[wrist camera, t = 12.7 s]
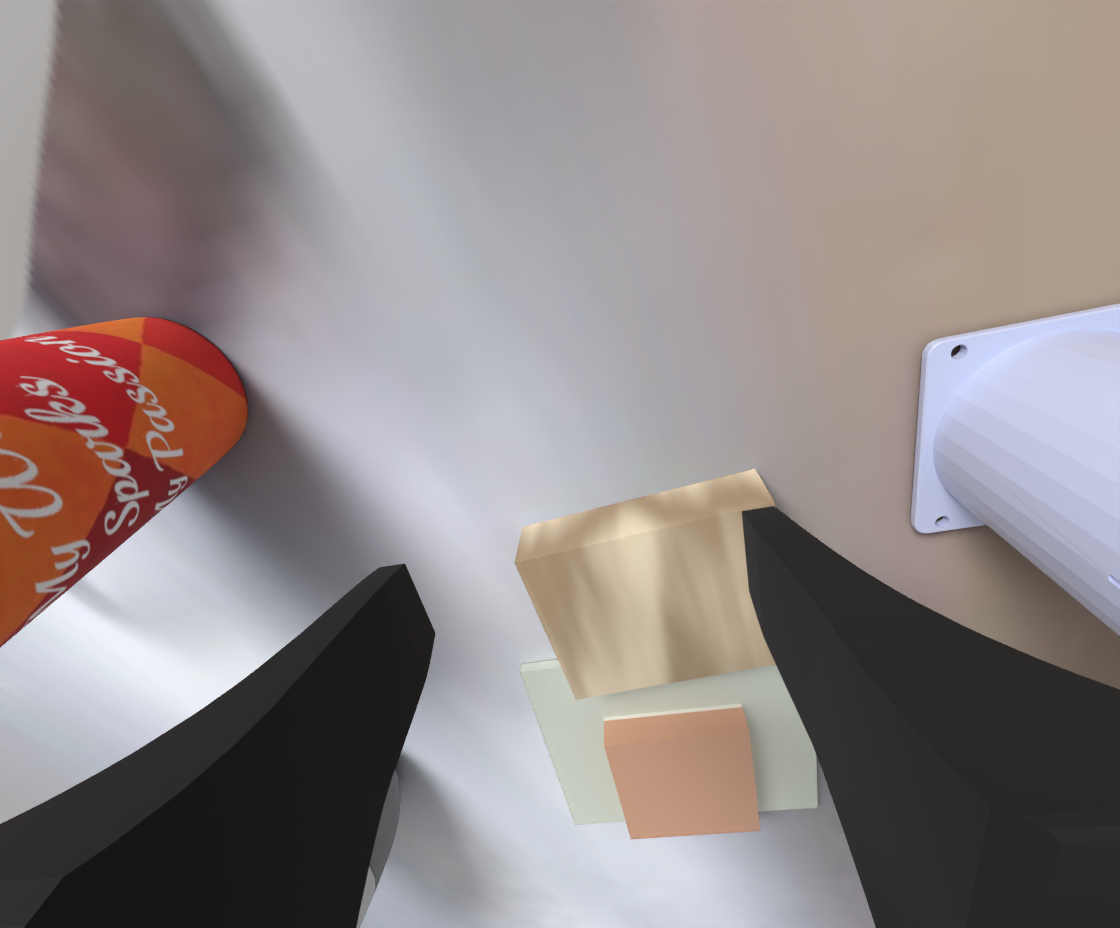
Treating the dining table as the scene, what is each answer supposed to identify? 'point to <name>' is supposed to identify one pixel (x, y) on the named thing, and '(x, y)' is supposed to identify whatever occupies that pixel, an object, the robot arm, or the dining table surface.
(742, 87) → the dining table surface
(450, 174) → the dining table surface
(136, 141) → the dining table surface
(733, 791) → the tile
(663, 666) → the light wooden block
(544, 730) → the mat
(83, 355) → the coffee cup
